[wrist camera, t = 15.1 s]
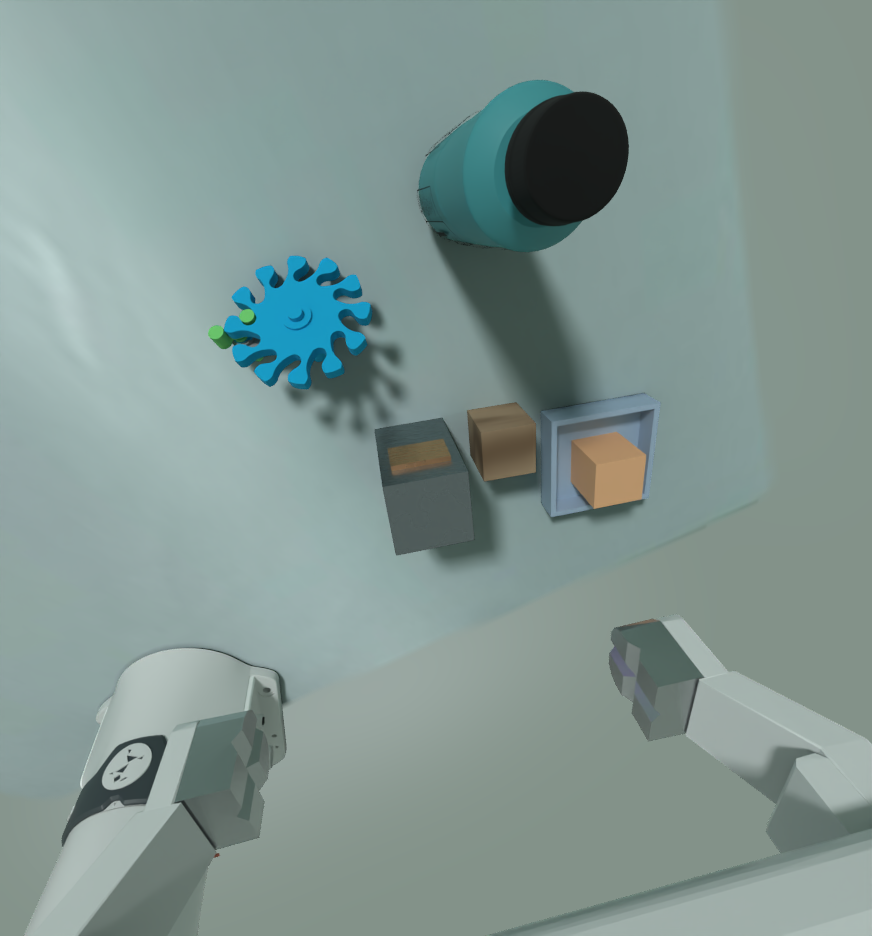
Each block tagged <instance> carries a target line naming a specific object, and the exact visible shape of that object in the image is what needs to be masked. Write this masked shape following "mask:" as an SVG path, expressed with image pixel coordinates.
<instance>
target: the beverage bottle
mask: <svg viewBox="0 0 872 936" xmlns="http://www.w3.org/2000/svg"><path fill="white" fill-rule="evenodd" d="M478 112H479V111H478ZM467 118H468V117H467ZM467 118H466V119H467ZM466 119H465V120H466ZM465 120H464V121H465ZM459 125H460V124H459ZM459 125H458V126H459ZM458 126H457V127H458ZM457 127H456V128H457ZM452 129H453V128H452ZM451 132H452V130H451ZM451 132H450V133H451ZM450 133H449V134H450ZM447 134H448V133H447ZM449 134H448V135H449ZM444 136H445V135H444ZM446 136H447V135H446ZM442 138H443V137H442ZM442 138H441V139H442ZM435 144H437V143H435ZM435 144H434V145H435ZM431 149H432V147H431ZM429 152H430V151H429ZM628 153H629V144H628V135H627V130H626V127H625V123H624V121H623V119H622V117H621V115H620V113H619V112H618V111H617V109H616V108H615V107H614V106H613V104H611V103H610V102H609V101H608V100H606V99H605V98H603V97H601V96H599V95H597V94H594V93H590V92H573V91H571V90H570V89H568V88H567V87H565V86H563V85H561V84H558V83H555V82H551V81H547V80H532V81H526V82H522V83H518V84H516V85H514V86H512V87H509V88H508V89H506V90H505V91H503V92H502V93H500V94H498V95H497V96H496V97H495V98H494V99H493V100H491V101H490V102H489V104H488V105H487V106H486V107H485V108H484V109H483V110H482V111H480V112H479V113H478V114H477V115H475V116H474V117H473V118H472V119H470V120H468V121H467V122H465V123H464V124H463V125H461V126H460V127H459V128H457V129H456V130H455V131H454V132H453V133H451V134H450V135H449V136H448V137H447V138H445V139H444V140H443V141H442V142H441V143H440V144H438V145H437V146H436V147H435V148H434V149H433V150H432V151H431V152H430V153H429V156H428V157H427V159H426V161H425V163H424V165H423V168H422V171H421V174H420V180H419V189H418V190H417V191H419V198H420V205H421V207H422V208H421V207H420V208H421V209H422V210H423V211H422V210H421V211H422V212H423V214H424V215H425V217H426V219H427V220H428V221H426V223H427V222H429V223H430V225H431V226H432V227H433V228H434V229H435V230H436V231H437V233H438V234H439V236H440V237H441V236H444V237H446V238H448V240H450V239H451V240H455V242H456V241H458V242H460V241H461V242H463V243H464V242H466V243H467V244H468V243H472V244H478V245H484V247H485V246H487V247H488V246H490V248H491V247H493V248H494V247H503V248H505V249H507V250H508V249H509V250H512V251H518V252H533V251H539V250H543V249H546V248H548V247H551V246H553V245H555V244H557V243H558V242H560V241H562V240H563V239H564V238H566V237H567V236H568V235H569V234H571V233H572V232H573V231H574V230H575V229H576V228H577V226H578V225H579V224H580V223H581V222H582V220H585V219H587V218H590V217H591V216H593V215H595V214H596V213H598V212H599V211H600V210H601V209H603V208H604V207H605V206H606V205H607V204H608V203H609V201H610V200H611V199H612V198H613V196H614V195H615V193H616V192H617V190H618V188H619V186H620V184H621V182H622V179H623V177H624V174H625V171H626V166H627V162H628ZM427 155H428V154H427ZM427 155H426V156H427ZM417 198H418V197H417ZM418 204H419V203H418ZM422 212H421V213H422ZM458 242H457V244H458ZM461 244H462V243H461ZM462 245H466V244H462ZM470 245H471V244H470ZM467 246H468V245H467ZM473 247H474V246H473ZM477 248H478V247H477ZM486 249H487V248H486ZM505 249H504V250H505Z"/></svg>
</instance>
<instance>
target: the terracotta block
mask: <svg viewBox="0 0 872 936" xmlns="http://www.w3.org/2000/svg"><path fill="white" fill-rule="evenodd" d="M645 464H646V454H645V453H643V452H642V451H641V450H639V449H638V448H637V447H636V446H634V445H633V444H632V443H631V442H629V441H628V440H627V439H626V438H624V437H623V436H622V435H621V434H619V433H618V432H613V433H607V434H602V435H597V436H591V437H586V438H581V439H576V440H571V483H572V484H573V485H574V486H575V487H576V488H577V490H578V491H579V492H580V493H581V494H582V495H583V497H584V498H585V499H586V500H587V501H588V503H589V504H590V505H591V506H592V507H593V508H594V509H596V508H601V507H606V506H611V505H616V504H621V503H626V502H630V501H635V500H640V499H642V491H643V482H644V473H645Z"/></svg>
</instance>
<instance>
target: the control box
mask: <svg viewBox="0 0 872 936" xmlns="http://www.w3.org/2000/svg"><path fill="white" fill-rule="evenodd" d="M375 437H376V444H377V451H378V458H379V465H380V473H381V480H382V487H383V492H384V497H385V502H386V507H387V512H388V517H389V523H390V528H391V533H392V538H393V543H394V548H395V553H396V555H401V554H406V553H411V552H417V551H422V550H427V549H432V548H437V547H442V546H447V545H452V544H457V543H462V542H467V541H472V540H474V530H473V519H472V508H471V497H470V486H469V475H468V470H467V468H466V466H465V464H464V462H463V460H462V458H461V456H460V453H459V451H458V449H457V447H456V445H455V443H454V441H453V439H452V437H451V435H450V433H449V431H448V429H447V426H446V424H445V422H444V420H443V418H438V419H432V420H427V421H421V422H415V423H409V424H403V425H398V426H392V427H386V428H380V429H375Z"/></svg>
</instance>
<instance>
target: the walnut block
mask: <svg viewBox="0 0 872 936" xmlns="http://www.w3.org/2000/svg"><path fill="white" fill-rule="evenodd" d="M467 415H468V428H469V441H470V455H471V457H472V459H473V461H474V463H475V465H476V467H477V469H478V471H479V473H480V475H481V476H482V478H483V480H484V481H490V480H495V479H501V478H507V477H512V476H518V475H524V474H529V473H535V472H536V423H535V422H534V421H533V420H532V419H531V418H530V417H529V416H528V414H527V413H526V412H525V411H524V410H523V409H522V408H521V407H520V406H519V405H518V404H517V402H515V403H509V404H503V405H497V406H491V407H485V408H478V409H472V410H467Z"/></svg>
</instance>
